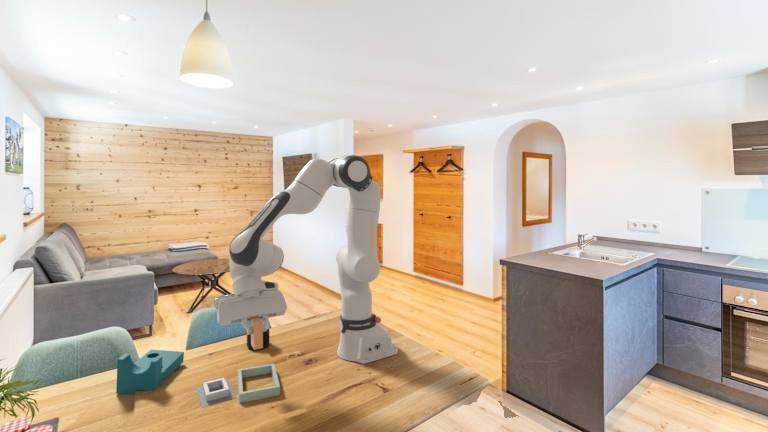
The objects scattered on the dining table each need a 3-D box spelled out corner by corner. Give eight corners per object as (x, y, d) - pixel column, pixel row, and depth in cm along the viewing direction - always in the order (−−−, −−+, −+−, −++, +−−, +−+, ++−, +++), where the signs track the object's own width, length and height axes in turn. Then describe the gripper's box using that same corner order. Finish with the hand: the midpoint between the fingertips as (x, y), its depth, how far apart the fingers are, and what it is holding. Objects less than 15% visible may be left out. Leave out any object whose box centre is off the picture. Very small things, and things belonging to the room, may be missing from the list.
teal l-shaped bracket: (154, 395, 112) (156, 361, 111) (116, 393, 111) (117, 359, 110) (183, 365, 130) (184, 336, 129) (150, 363, 129) (151, 334, 128)
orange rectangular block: (259, 342, 116) (259, 317, 115) (262, 347, 113) (262, 321, 112) (250, 344, 115) (250, 318, 114) (254, 349, 111) (253, 323, 111)
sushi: (249, 352, 139) (249, 331, 138) (245, 343, 146) (244, 323, 146) (271, 347, 143) (271, 327, 143) (266, 339, 150) (266, 319, 150)
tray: (274, 373, 124) (274, 363, 124) (280, 398, 110) (279, 386, 110) (238, 380, 120) (237, 369, 119) (239, 406, 106) (239, 394, 106)
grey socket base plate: (228, 382, 118) (228, 372, 118) (236, 401, 108) (236, 391, 108) (196, 390, 114) (196, 380, 113) (201, 411, 104) (201, 400, 103)
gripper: (214, 291, 112) (220, 334, 105) (282, 282, 123) (292, 321, 116) (212, 301, 117) (218, 344, 109) (278, 292, 128) (288, 330, 120)
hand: (257, 332), depth 113 cm, fingers closed on orange rectangular block, 2 cm apart
